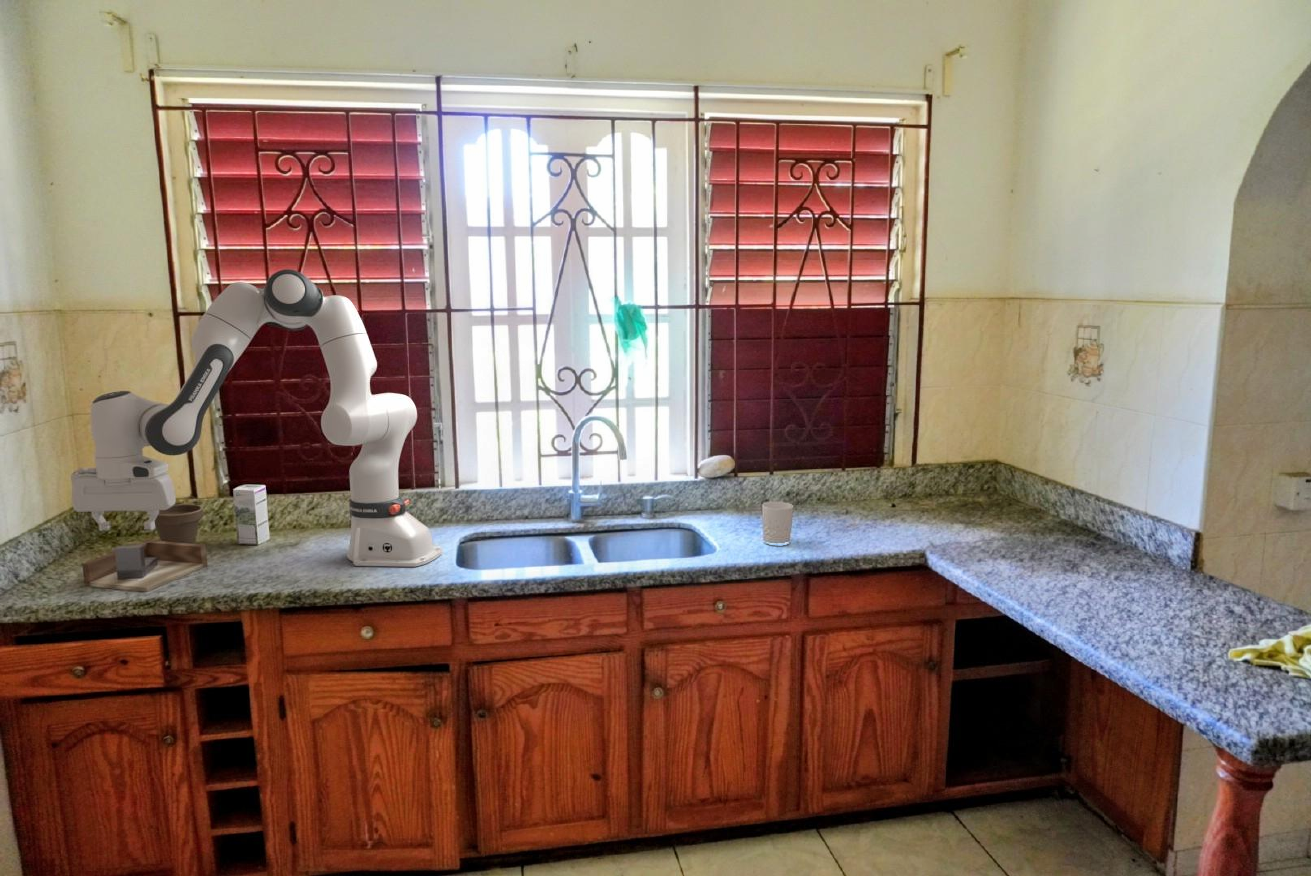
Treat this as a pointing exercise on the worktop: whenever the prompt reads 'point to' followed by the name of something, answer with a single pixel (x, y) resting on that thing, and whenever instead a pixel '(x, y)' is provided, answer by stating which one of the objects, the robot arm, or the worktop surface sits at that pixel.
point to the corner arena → (170, 567)
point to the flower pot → (179, 523)
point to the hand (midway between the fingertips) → (127, 530)
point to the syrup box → (251, 514)
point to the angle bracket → (133, 562)
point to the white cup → (777, 521)
